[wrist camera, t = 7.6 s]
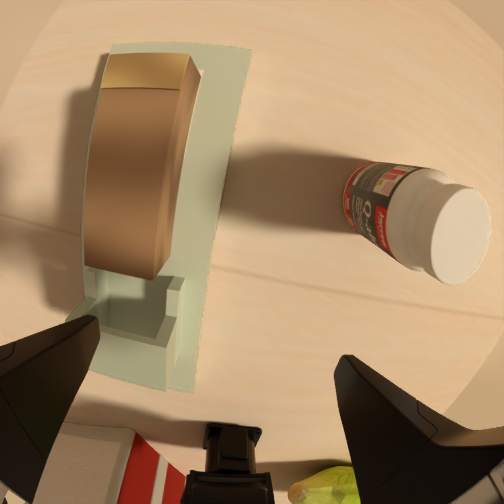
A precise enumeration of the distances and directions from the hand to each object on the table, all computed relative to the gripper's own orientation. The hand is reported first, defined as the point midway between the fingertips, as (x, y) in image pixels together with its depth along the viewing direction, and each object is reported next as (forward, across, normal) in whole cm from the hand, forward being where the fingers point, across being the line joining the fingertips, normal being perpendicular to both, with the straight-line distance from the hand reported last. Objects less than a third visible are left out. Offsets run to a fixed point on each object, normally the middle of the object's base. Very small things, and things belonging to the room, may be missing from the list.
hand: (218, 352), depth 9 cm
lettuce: (+13, -24, +36) cm, 45 cm away
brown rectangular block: (+10, +6, -6) cm, 13 cm away
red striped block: (+13, +13, +38) cm, 42 cm away
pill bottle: (+11, -10, -6) cm, 16 cm away
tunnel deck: (+11, +6, 0) cm, 13 cm away
